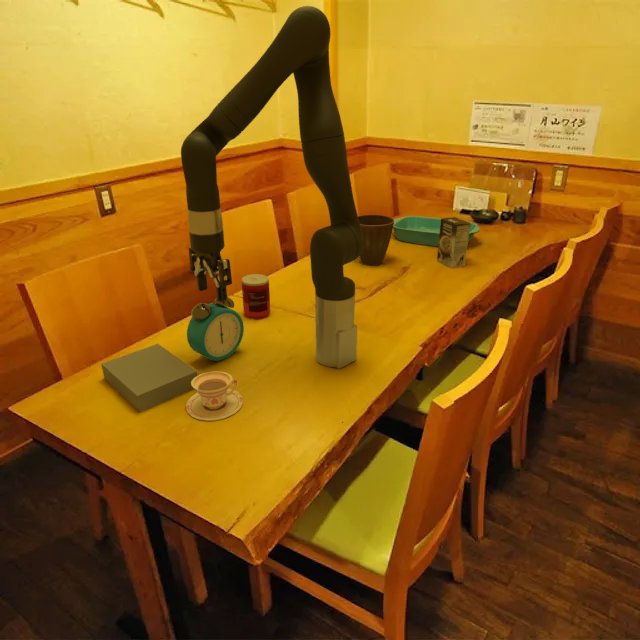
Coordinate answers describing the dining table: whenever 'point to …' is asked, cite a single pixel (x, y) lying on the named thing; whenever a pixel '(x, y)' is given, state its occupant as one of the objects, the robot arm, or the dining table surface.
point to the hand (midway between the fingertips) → (212, 295)
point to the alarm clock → (215, 329)
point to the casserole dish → (423, 230)
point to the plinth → (149, 376)
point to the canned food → (256, 296)
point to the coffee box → (453, 242)
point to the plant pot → (375, 237)
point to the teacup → (214, 396)
